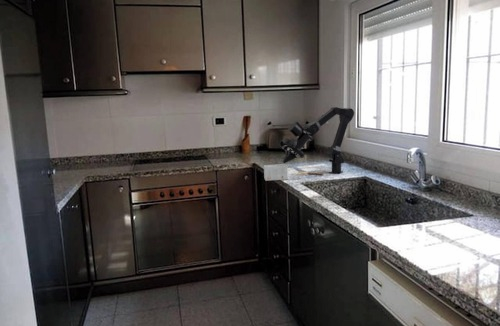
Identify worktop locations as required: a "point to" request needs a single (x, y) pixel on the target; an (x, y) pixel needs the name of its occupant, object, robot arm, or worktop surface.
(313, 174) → the wooden turner
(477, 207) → the worktop surface
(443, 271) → the worktop surface
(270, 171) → the small box
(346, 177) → the worktop surface
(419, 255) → the worktop surface
